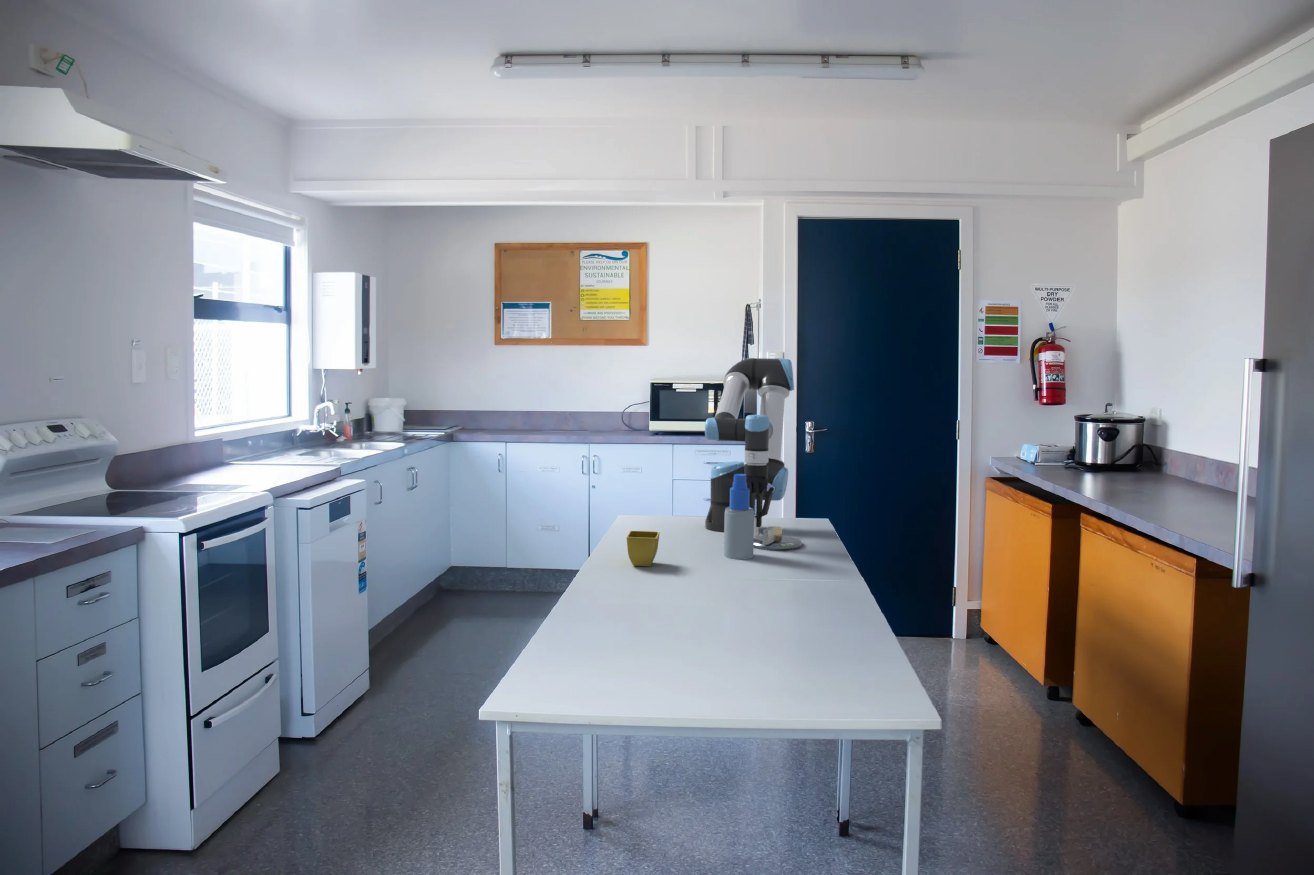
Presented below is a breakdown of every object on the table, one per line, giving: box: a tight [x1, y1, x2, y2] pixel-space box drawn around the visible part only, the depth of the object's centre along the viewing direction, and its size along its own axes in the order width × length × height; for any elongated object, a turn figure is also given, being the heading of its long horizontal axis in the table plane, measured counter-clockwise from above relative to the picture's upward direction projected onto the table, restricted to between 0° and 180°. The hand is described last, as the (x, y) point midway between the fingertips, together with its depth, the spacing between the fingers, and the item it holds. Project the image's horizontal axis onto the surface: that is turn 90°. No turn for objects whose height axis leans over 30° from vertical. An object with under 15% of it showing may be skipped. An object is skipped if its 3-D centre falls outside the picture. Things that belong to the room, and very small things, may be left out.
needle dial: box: [762, 525, 783, 544], centre depth 258 cm, size 11×4×5 cm, turn 151°
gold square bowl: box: [626, 530, 661, 567], centre depth 234 cm, size 9×9×9 cm
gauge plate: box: [753, 534, 802, 552], centre depth 261 cm, size 17×17×1 cm
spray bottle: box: [723, 474, 755, 560], centre depth 245 cm, size 9×9×25 cm
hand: (754, 536), depth 258 cm, fingers closed
